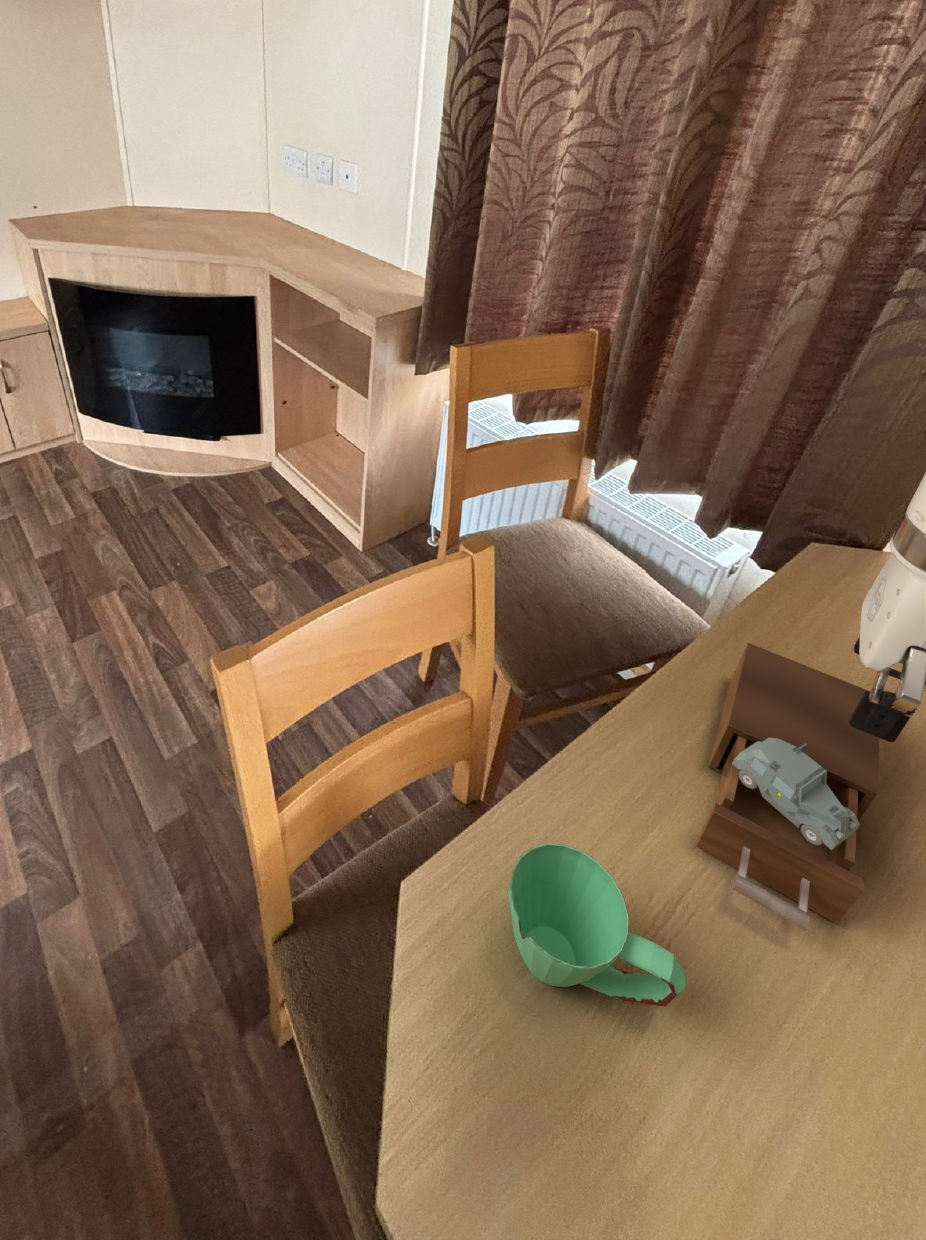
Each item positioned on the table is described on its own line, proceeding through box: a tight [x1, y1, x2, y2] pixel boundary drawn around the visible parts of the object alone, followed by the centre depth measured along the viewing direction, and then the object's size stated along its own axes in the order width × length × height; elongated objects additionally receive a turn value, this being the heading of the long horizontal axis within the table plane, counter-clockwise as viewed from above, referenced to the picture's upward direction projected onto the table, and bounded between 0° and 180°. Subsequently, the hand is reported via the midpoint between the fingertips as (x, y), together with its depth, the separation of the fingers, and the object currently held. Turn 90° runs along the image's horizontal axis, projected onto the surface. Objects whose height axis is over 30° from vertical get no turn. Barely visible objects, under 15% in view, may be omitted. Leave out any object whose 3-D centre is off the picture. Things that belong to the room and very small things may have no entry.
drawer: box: [696, 734, 865, 931], centre depth 69 cm, size 18×12×6 cm
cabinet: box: [707, 642, 880, 822], centre depth 79 cm, size 15×14×8 cm
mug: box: [507, 842, 687, 1008], centre depth 60 cm, size 15×10×10 cm
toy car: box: [732, 738, 861, 850], centre depth 68 cm, size 6×10×5 cm, turn 28°
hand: (871, 692), depth 62 cm, fingers open, 9 cm apart
